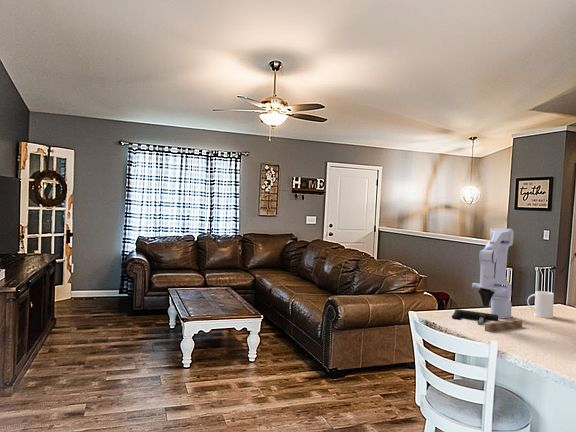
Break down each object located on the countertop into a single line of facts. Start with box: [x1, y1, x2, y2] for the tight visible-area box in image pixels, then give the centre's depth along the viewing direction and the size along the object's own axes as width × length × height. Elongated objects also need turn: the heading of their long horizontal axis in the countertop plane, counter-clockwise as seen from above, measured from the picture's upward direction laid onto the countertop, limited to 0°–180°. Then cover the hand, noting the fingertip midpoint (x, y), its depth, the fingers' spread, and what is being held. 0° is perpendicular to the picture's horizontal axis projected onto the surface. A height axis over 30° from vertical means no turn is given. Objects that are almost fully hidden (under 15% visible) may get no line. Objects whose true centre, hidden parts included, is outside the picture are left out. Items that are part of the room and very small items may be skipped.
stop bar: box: [484, 318, 523, 333], centre depth 198 cm, size 22×2×3 cm, turn 116°
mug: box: [526, 290, 555, 319], centre depth 225 cm, size 12×8×12 cm
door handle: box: [451, 308, 499, 326], centre depth 213 cm, size 3×20×16 cm
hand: (485, 305), depth 201 cm, fingers closed
